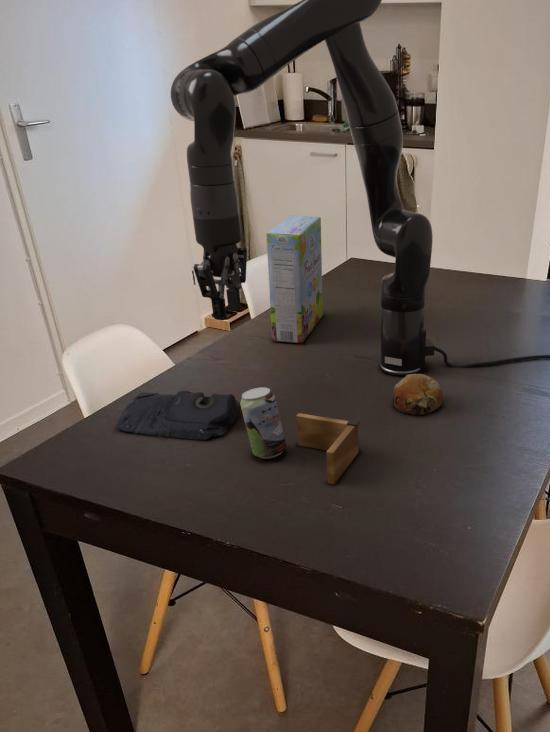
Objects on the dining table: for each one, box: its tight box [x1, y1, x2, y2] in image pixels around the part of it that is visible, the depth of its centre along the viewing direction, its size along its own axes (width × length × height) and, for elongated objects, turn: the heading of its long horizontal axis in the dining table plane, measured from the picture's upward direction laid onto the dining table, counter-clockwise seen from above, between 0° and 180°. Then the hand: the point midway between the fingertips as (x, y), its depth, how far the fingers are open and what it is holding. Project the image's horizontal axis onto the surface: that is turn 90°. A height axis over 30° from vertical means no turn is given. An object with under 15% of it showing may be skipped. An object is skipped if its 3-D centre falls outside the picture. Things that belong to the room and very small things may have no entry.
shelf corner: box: [295, 412, 361, 485], centre depth 118 cm, size 12×12×6 cm
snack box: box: [265, 214, 324, 344], centre depth 170 cm, size 22×9×26 cm, turn 170°
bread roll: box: [392, 373, 443, 416], centre depth 137 cm, size 10×10×8 cm
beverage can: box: [239, 386, 287, 460], centre depth 119 cm, size 6×7×12 cm
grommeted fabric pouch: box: [114, 390, 240, 441], centre depth 133 cm, size 15×22×5 cm
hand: (227, 314), depth 121 cm, fingers open, 4 cm apart
